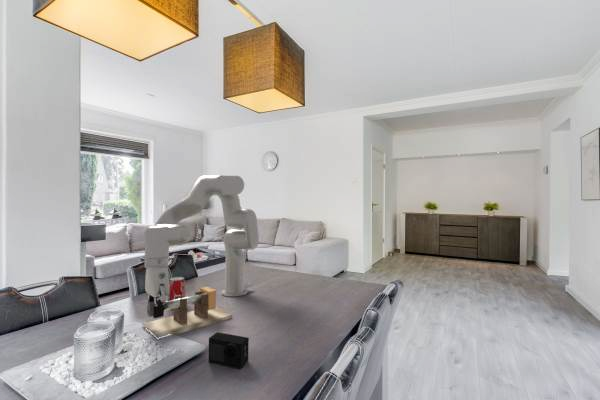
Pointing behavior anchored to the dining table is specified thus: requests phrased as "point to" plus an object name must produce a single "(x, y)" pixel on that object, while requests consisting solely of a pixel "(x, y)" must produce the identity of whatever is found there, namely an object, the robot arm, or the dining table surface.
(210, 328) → the dining table surface
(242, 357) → the digital camera
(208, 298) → the block
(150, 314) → the shaft
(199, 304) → the rig
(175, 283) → the soda can
